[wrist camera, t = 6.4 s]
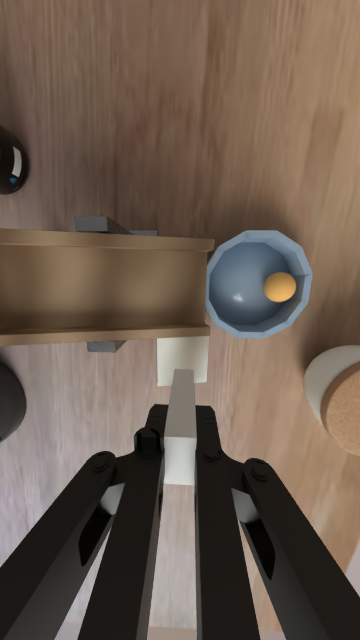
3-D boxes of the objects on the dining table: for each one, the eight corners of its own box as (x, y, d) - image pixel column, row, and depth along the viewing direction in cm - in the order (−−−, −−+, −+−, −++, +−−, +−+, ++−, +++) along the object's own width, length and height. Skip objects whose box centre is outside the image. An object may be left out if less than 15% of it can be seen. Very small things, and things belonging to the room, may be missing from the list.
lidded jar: (328, 316, 24) (411, 342, 15) (392, 363, 25) (506, 414, 16) (270, 380, 27) (312, 436, 18) (331, 421, 28) (400, 494, 19)
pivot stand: (106, 329, 26) (62, 358, 17) (99, 231, 23) (42, 205, 14) (159, 330, 26) (142, 361, 17) (158, 231, 23) (137, 205, 14)
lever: (6, 394, 18) (-20, 417, 15) (-28, 233, 15) (-69, 223, 12) (203, 377, 21) (213, 393, 18) (209, 243, 18) (222, 238, 15)
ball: (298, 304, 20) (288, 300, 23) (303, 272, 19) (292, 272, 22) (264, 303, 21) (259, 299, 24) (268, 271, 20) (262, 272, 23)
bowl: (199, 328, 26) (200, 336, 22) (202, 236, 23) (204, 230, 20) (286, 330, 25) (302, 339, 22) (300, 237, 22) (320, 230, 19)
